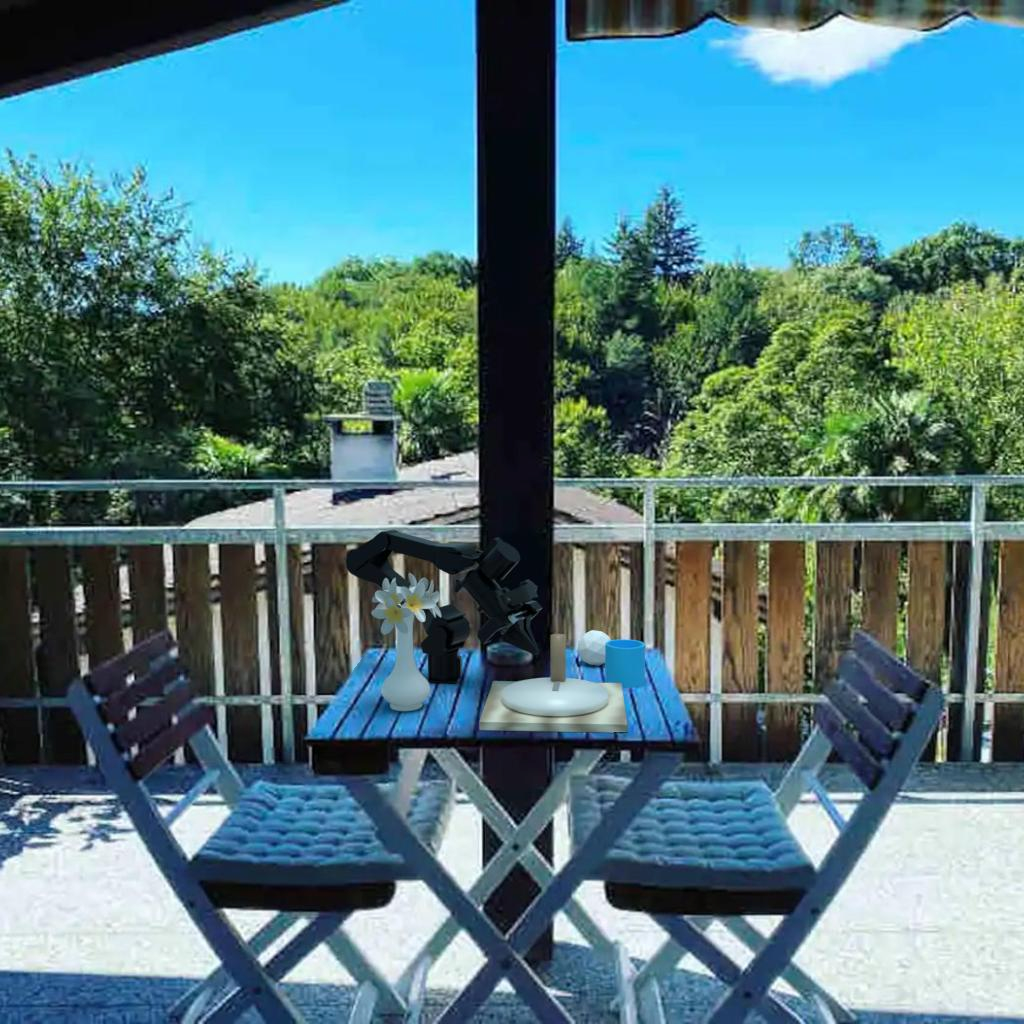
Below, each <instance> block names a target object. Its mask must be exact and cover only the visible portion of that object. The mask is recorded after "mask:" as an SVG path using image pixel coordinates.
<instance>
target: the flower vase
mask: <svg viewBox="0 0 1024 1024" xmlns="http://www.w3.org/2000/svg"><path fill="white" fill-rule="evenodd" d="M408 578H409V583H410V584H411V586H409V589H408V588H407V587H399V586H397V584H396V578H394V579H393V580H392V582H391V584H389V581H388V579H387V578H385V579H384V581H383V584H382V588H383V590H376V591H375V593H374V596H373V597H372V599H371V602H372V603H378V604H376V606H375V609H373V610H372V611H371V612H370V613H371V616H372V617H374V618H376V619H379V620H382V619H383V622H382V624H381V625H380V626H381V627H380V633H381V634H382V635H388V634H390V632H392V630H393V629H394V627H396V635H397V636H396V645H397V646H396V657H395V658H396V659H395V663H394V666H393V668H392V671H391V673H390V674H388V676H387V677H386V678H385V680H384V681H383V683H382V685H381V695H382V697H383V699H384V700H385V701H386V702H387V703H389V708H390V709H391V710H393V711H397V712H411V711H417V710H420V709H421V708H422V707H423V702H424V701H426V699H427V698H428V697H429V696H430V693H431V686H430V682H428V680H427V678H426V677H425V675H423V674H422V672H420V670H419V668H418V666H417V662H416V660H415V659H416V658H415V651H414V630H413V628H414V621H415V618H416V617H417V618H416V619H417V620H418V621H419V622H420V623H422V622H425V619H426V616H425V613H424V611H423V610H422V609H429V610H430V611H431V612H432V614H433V615H434V617H435V618H436V614H437V615H438V616H439V617H440V618H441V612H440V610H439V608H438V606H439V605H438V606H437V603H439V601H440V598H441V594H440V592H439V591H438V590H436V591H435V592H434V587H435V586H434V585H435V583H434V580H433V579H431V581H430V585H429V580H428V579H427V578H426V577H422V578H421V579H420V580H419V581H418V582H417V579H416V577H415V576H414V575H413V574H412V573H411V572H409V573H408ZM428 587H429V588H428ZM427 589H428V590H427ZM426 590H427V591H426ZM402 601H403V602H404V604H403V603H402ZM435 613H436V614H435ZM415 616H416V617H415Z"/></svg>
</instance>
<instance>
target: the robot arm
mask: <svg viewBox="0 0 1024 1024" xmlns="http://www.w3.org/2000/svg"><path fill="white" fill-rule="evenodd" d="M393 553H398V554H401V555H404V556H409V557H412V558H416V559H419V560H421V561H426V562H429V563H431V564H432V565H433V566H435V568H436V569H438V570H440V571H442V572H444V573H445V574H448V575H458V574H462V573H465V574H464V576H463V577H458V578H456V579H455V587H454V592H455V594H459V593H460V592H462V591H463V592H464V591H466V592H467V593H468V595H469V596H470V597H471V598H472V600H473V601H474V602H475V603H476V605H478V607H477V609H476V610H477V612H478V613H479V614H481V613H484V614H485V615H486V616H487V617H488V619H487V620H486V621H485V622H484V624H482V625H481V626H480V628H479V629H478V630H477V632H476V633H477V635H476V636H477V639H478V640H479V641H480V642H481V643H482V644H483V645H486V644H488V643H490V642H491V641H492V637H493V636H494V635H495V634H496V632H499V631H500V633H501V636H500V637H499V638H498V641H499V642H504V643H506V644H509V645H511V646H513V647H516V648H519V649H520V650H522V651H525V652H527V653H529V654H531V655H533V656H537V655H538V654H539V653H540V649H539V647H538V644H537V642H536V640H535V636H534V635H533V631H532V629H531V620H533V619H534V618H535V617H536V616H537V615H538V613H539V612H540V611H541V610H543V606H541V604H540V603H539V602H538V601H537V600H533V599H537V598H539V596H538V593H537V591H538V588H539V586H538V585H536V584H535V582H534V581H533V582H532V580H530V579H528V578H527V579H525V580H524V581H520V582H519V587H517V588H514V589H512V590H510V589H509V588H508V587H505V586H504V587H502V588H501V586H500V585H499V583H497V582H496V581H502V580H504V579H505V578H506V576H507V575H508V574H509V573H510V572H511V571H512V570H513V568H515V566H517V564H518V563H519V562H520V560H521V554H520V553H519V551H518V550H517V549H516V548H515V547H514V546H512V545H510V544H509V543H508V542H505V541H503V540H502V538H500V537H496V538H493V539H492V540H491V541H490V542H489V544H488V545H487V547H486V548H485V549H484V550H483V551H482V550H477V549H476V548H475V546H473V545H472V544H470V543H463V542H461V543H459V542H437V541H434V540H432V539H426V538H422V537H419V536H416V535H412V534H407V533H404V532H400V531H398V530H396V529H388V530H382V531H380V532H379V533H377V534H376V535H375V536H374V537H372V538H371V539H369V540H367V541H366V542H365V543H363V544H361V545H360V546H358V547H357V548H353V549H351V550H349V551H348V552H347V554H346V557H345V565H346V566H345V568H346V570H347V571H348V572H349V573H350V575H352V576H354V577H356V578H358V579H360V580H362V581H364V582H368V583H371V584H375V585H376V586H378V587H379V588H380V589H381V591H383V588H382V584H383V581H384V579H385V578H387V579H388V581H389V584H391V582H392V580H393V579H394V578H396V584H397V586H399V587H407V588H408V589H409V586H411V582H410V581H408V580H407V579H405V578H404V577H403V576H402V575H401V574H399V573H398V572H397V571H396V570H395V569H393V567H392V565H391V562H390V559H389V558H390V557H391V556H392V555H393ZM476 566H477V567H476ZM475 567H476V568H475ZM402 603H403V604H404V602H403V601H402ZM436 605H437V604H436ZM437 606H438V608H439V610H440V612H441V618H440V617H439V616H438V615H437V614H436V613H435V614H436V618H435V617H434V615H433V614H432V612H431V611H430V610H429V609H422V610H423V611H424V613H425V616H426V619H425V622H421V623H422V625H423V628H424V631H425V634H426V635H427V636H426V637H425V638H424V639H423V640H422V641H421V643H420V647H421V651H422V653H423V654H424V655H425V654H426V655H427V678H426V679H427V680H428V682H429V683H433V684H434V683H436V684H437V683H440V684H442V683H443V684H445V683H447V684H452V683H453V684H457V683H458V682H459V679H461V678H462V675H463V657H462V656H461V655H460V649H462V648H464V647H465V644H466V640H468V638H469V637H470V634H471V626H470V624H471V623H470V621H469V620H468V618H467V617H466V613H464V612H461V611H460V610H459V609H458V608H457V607H456V606H455V605H453V604H452V603H448V604H446V605H442V606H440V605H437ZM414 618H416V619H417V617H416V616H414Z"/></svg>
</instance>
